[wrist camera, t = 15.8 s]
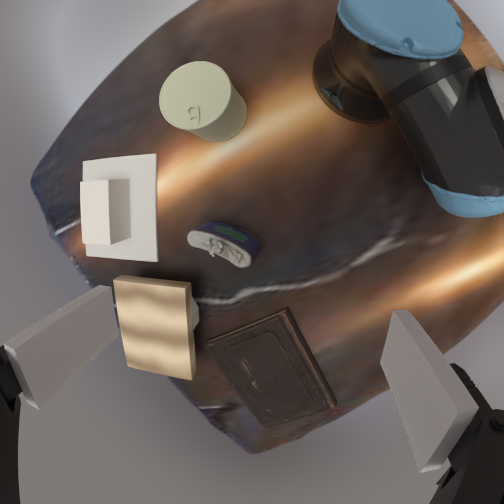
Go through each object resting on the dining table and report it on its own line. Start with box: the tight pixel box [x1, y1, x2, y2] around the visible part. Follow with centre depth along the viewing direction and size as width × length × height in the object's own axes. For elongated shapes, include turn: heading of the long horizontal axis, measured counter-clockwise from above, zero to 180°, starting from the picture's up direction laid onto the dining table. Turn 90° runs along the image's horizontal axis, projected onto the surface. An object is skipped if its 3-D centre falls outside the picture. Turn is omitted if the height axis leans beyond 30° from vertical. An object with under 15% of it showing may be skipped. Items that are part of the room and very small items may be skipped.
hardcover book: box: [204, 307, 337, 428], centre depth 50 cm, size 16×23×2 cm
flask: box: [187, 221, 261, 268], centre depth 40 cm, size 9×3×11 cm, turn 68°
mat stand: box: [80, 154, 159, 262], centre depth 44 cm, size 18×16×7 cm
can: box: [159, 61, 247, 142], centre depth 35 cm, size 9×9×12 cm
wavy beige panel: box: [113, 275, 197, 380], centre depth 43 cm, size 16×12×2 cm
